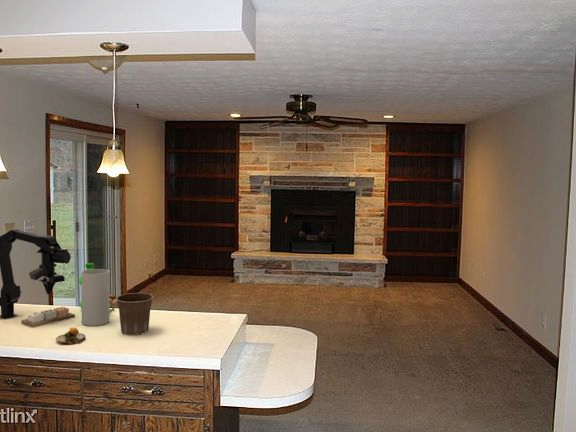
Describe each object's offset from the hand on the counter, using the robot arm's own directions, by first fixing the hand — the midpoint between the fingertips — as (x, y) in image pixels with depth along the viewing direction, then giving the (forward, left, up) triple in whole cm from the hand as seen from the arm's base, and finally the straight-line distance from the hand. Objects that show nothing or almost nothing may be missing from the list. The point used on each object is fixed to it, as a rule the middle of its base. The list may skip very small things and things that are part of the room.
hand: (48, 294), depth 241 cm
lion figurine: (+11, +26, -13) cm, 31 cm away
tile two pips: (0, 0, -11) cm, 11 cm away
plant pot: (+45, +15, -13) cm, 49 cm away
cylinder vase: (+20, +12, -13) cm, 27 cm away
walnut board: (0, 0, -13) cm, 13 cm away
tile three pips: (0, +6, -11) cm, 13 cm away
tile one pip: (0, -6, -11) cm, 13 cm away
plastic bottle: (+1, +22, -13) cm, 26 cm away
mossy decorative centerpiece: (+34, -10, -14) cm, 38 cm away
